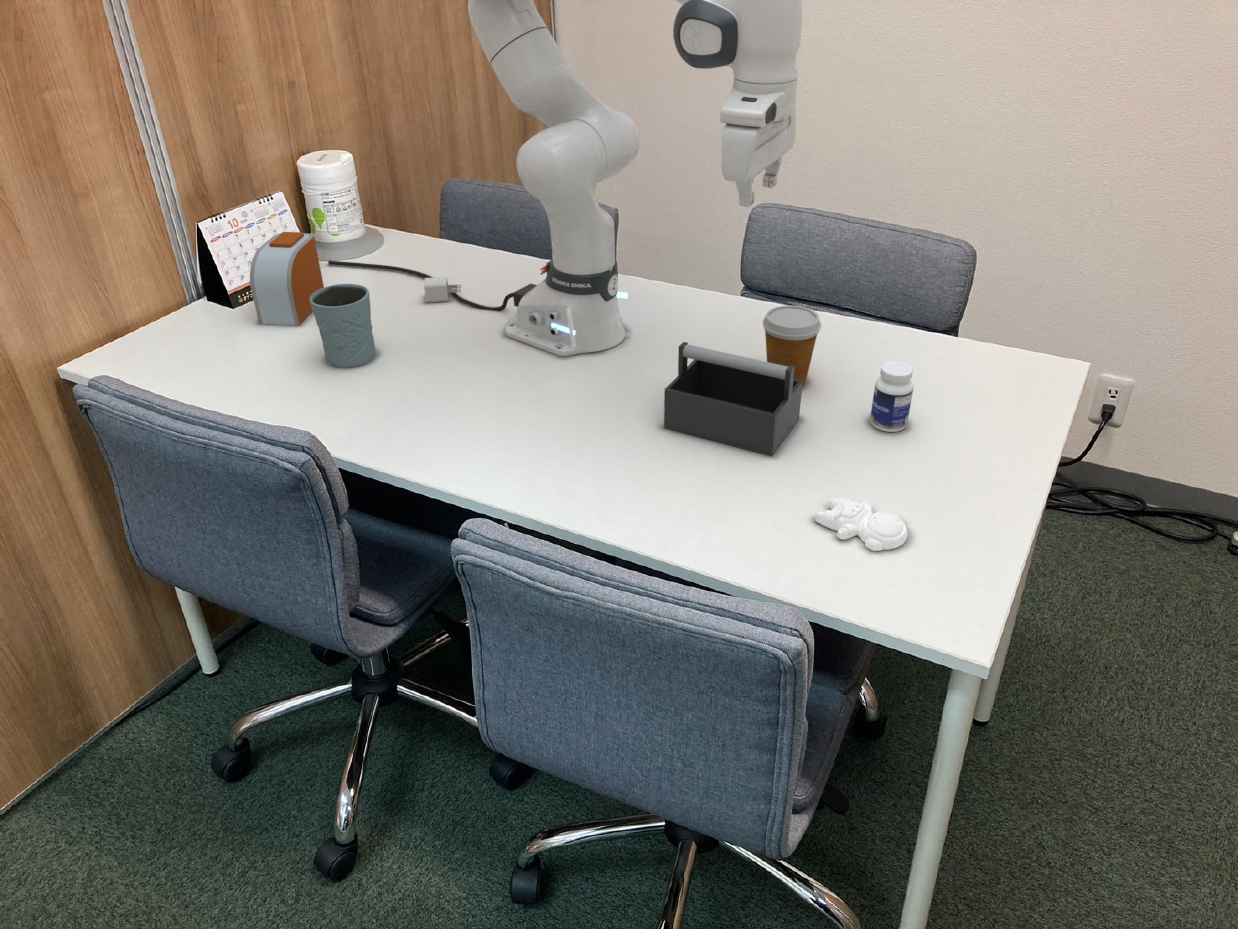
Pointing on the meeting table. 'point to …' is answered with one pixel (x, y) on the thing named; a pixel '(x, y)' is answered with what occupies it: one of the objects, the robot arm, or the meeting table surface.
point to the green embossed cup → (344, 324)
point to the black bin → (732, 399)
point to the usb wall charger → (438, 289)
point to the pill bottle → (892, 397)
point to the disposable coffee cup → (791, 337)
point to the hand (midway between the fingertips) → (758, 195)
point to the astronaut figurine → (863, 524)
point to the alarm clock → (285, 278)
